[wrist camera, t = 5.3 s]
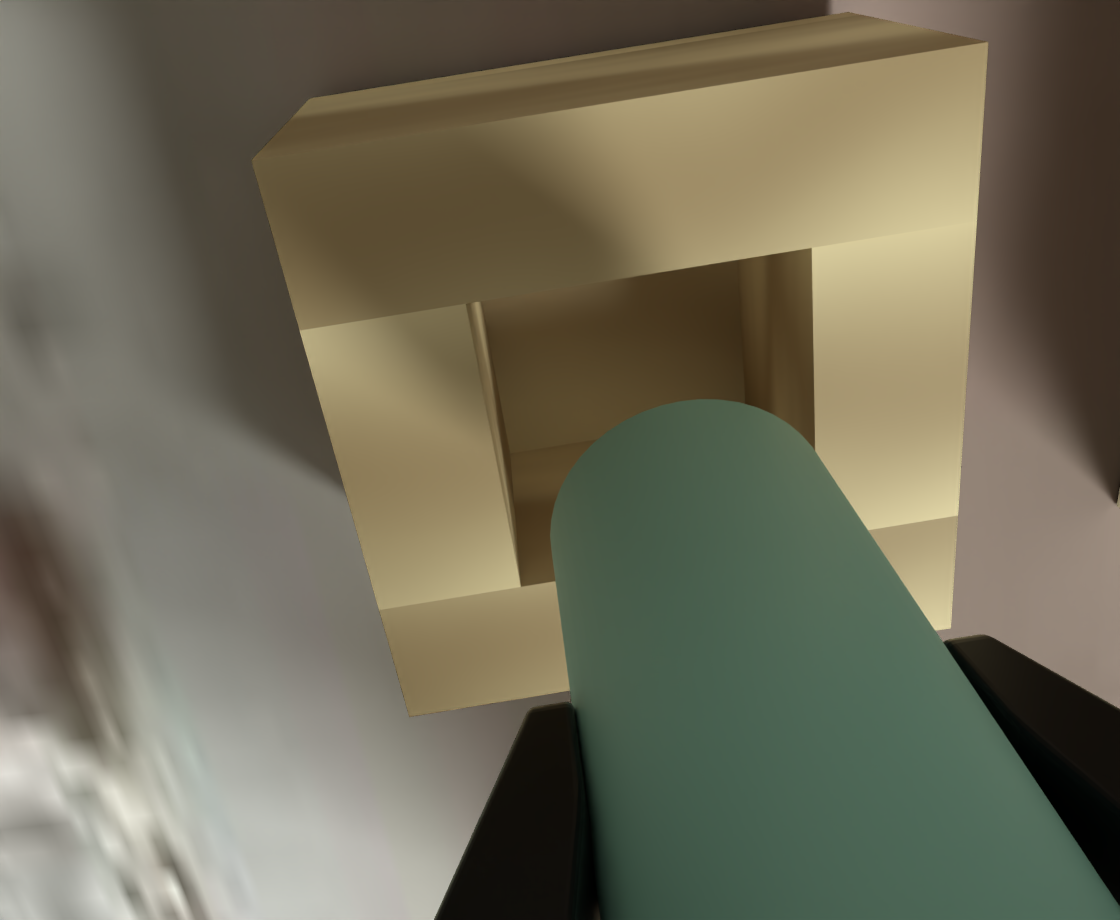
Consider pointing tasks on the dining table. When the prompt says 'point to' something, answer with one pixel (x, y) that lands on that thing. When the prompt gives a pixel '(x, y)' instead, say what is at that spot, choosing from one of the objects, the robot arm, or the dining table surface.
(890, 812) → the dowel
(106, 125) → the dining table surface
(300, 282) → the block
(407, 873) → the dining table surface
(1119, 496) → the stop wall
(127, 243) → the dining table surface
